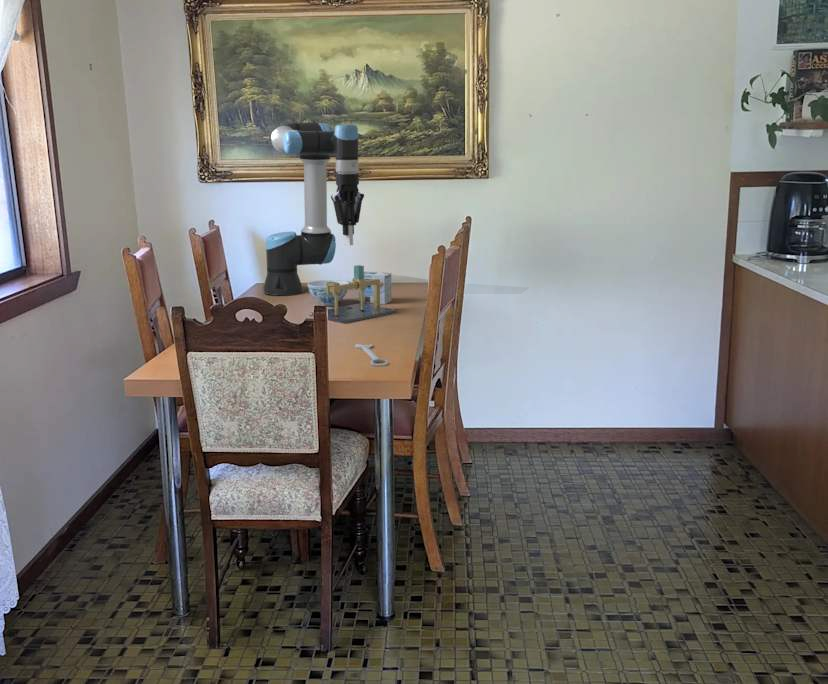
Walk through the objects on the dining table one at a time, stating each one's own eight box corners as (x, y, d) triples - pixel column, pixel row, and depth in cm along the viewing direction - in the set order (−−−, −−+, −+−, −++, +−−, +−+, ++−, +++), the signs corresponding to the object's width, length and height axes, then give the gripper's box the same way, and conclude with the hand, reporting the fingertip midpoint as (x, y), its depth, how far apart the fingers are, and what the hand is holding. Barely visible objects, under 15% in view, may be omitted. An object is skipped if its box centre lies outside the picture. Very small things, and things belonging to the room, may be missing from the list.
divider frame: (327, 314, 289) (326, 282, 287) (374, 305, 305) (374, 274, 302) (334, 316, 287) (334, 283, 284) (382, 307, 302) (382, 276, 300)
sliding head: (353, 309, 298) (352, 265, 294) (358, 308, 299) (357, 264, 296) (360, 310, 295) (360, 266, 291) (366, 309, 297) (365, 266, 293)
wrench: (370, 347, 253) (353, 348, 252) (370, 342, 253) (353, 343, 252) (391, 367, 230) (371, 368, 229) (391, 361, 230) (371, 362, 228)
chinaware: (319, 299, 323) (319, 279, 321) (356, 301, 317) (355, 281, 315) (300, 306, 309) (300, 285, 307) (338, 309, 304) (337, 287, 302)
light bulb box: (358, 302, 316) (358, 273, 314) (365, 299, 322) (365, 271, 320) (385, 304, 313) (385, 275, 310) (392, 301, 319) (392, 272, 316)
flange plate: (309, 315, 293) (309, 312, 293) (361, 305, 310) (361, 302, 310) (344, 323, 281) (344, 320, 281) (396, 312, 298) (396, 309, 298)
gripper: (339, 174, 274) (341, 247, 279) (369, 172, 283) (370, 244, 289) (324, 173, 279) (326, 245, 285) (354, 172, 288) (355, 242, 294)
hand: (348, 244), depth 287 cm, fingers closed
